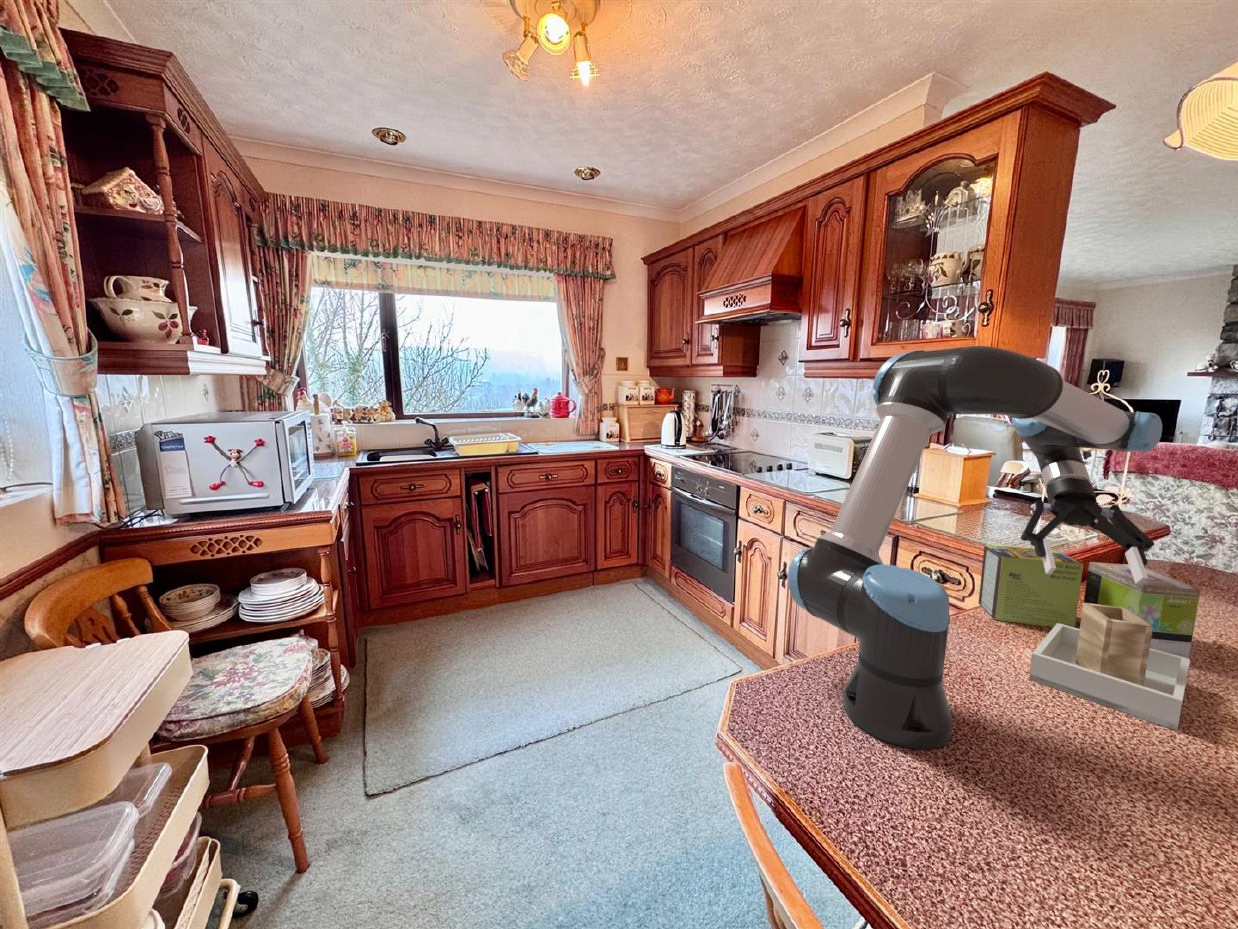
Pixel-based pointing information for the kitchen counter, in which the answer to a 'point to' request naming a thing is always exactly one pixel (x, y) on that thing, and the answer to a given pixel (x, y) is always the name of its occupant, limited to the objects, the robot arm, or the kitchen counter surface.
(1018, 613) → the protein box
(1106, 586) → the tea box
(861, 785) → the kitchen counter surface
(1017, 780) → the kitchen counter surface
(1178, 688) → the tray
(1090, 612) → the box
